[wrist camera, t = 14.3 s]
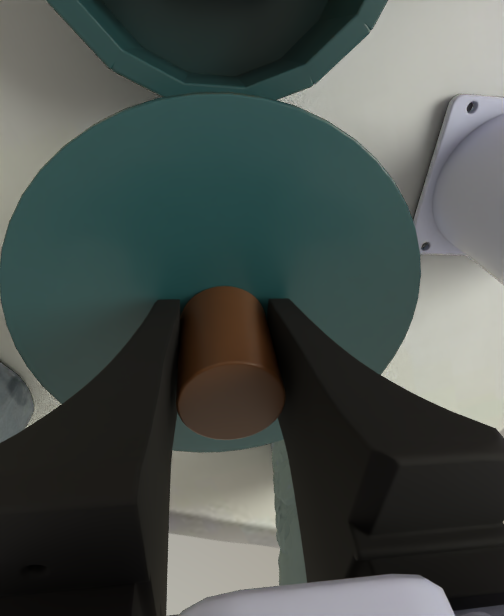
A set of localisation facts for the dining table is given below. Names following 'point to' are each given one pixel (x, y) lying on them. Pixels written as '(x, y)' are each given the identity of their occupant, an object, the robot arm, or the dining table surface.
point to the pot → (221, 41)
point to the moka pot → (13, 403)
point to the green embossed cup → (287, 520)
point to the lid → (208, 253)
